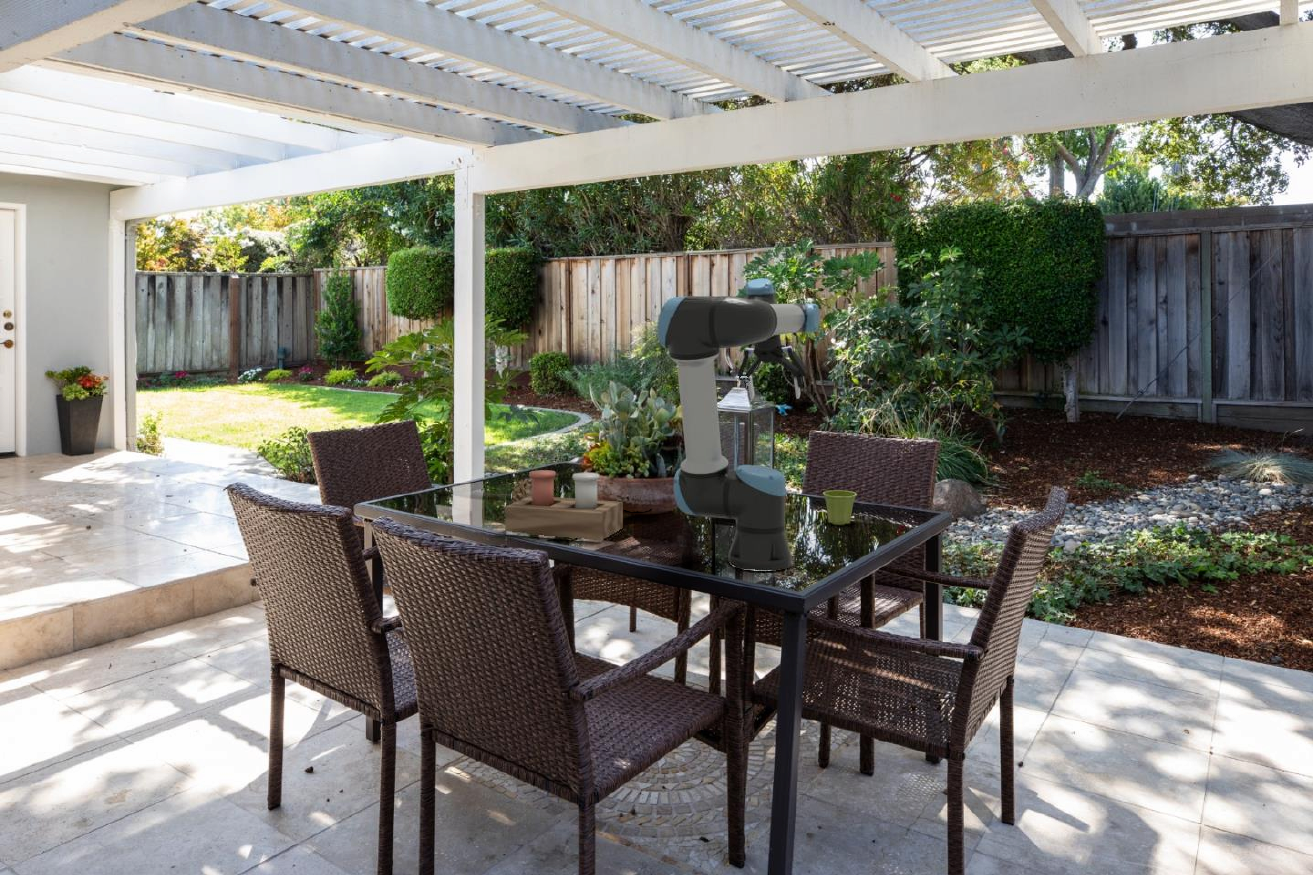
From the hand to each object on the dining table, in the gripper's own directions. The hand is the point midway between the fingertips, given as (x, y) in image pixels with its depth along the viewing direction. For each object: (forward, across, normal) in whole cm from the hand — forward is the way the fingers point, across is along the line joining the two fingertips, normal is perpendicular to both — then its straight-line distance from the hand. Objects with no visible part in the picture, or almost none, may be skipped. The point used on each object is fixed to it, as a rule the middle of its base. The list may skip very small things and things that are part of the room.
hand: (775, 396), depth 269 cm
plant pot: (+32, -18, +19) cm, 41 cm away
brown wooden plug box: (+12, +52, +50) cm, 73 cm away
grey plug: (+7, +45, +47) cm, 66 cm away
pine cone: (+20, +73, +32) cm, 82 cm away
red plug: (+7, +58, +47) cm, 75 cm away
